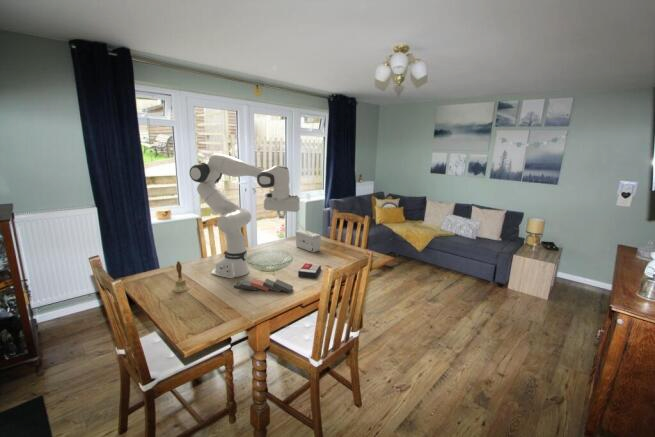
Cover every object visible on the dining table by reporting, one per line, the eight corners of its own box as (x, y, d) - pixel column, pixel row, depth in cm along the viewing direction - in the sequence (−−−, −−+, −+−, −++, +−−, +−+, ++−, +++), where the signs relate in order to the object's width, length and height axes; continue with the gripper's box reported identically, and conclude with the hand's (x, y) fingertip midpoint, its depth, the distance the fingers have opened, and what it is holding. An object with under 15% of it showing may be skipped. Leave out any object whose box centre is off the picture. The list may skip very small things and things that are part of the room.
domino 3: (268, 291, 168) (250, 285, 167) (269, 286, 173) (252, 281, 171) (269, 288, 168) (251, 282, 166) (270, 283, 172) (253, 278, 171)
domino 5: (289, 293, 166) (272, 285, 167) (292, 289, 171) (275, 281, 172) (290, 290, 166) (274, 282, 167) (293, 286, 171) (277, 278, 171)
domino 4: (279, 292, 167) (262, 285, 168) (282, 288, 172) (265, 281, 172) (280, 289, 167) (263, 282, 167) (283, 285, 172) (266, 278, 172)
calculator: (321, 264, 199) (315, 272, 185) (320, 270, 200) (315, 278, 186) (304, 262, 202) (298, 270, 187) (304, 268, 202) (298, 277, 188)
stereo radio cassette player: (320, 251, 234) (321, 225, 230) (313, 253, 228) (313, 227, 224) (302, 244, 248) (302, 220, 243) (294, 246, 242) (294, 222, 237)
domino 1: (250, 290, 170) (234, 288, 172) (254, 286, 175) (238, 285, 176) (250, 287, 169) (233, 285, 171) (254, 283, 174) (237, 281, 176)
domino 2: (257, 290, 168) (239, 286, 166) (258, 286, 173) (240, 282, 171) (258, 287, 168) (240, 283, 166) (259, 283, 173) (241, 279, 171)
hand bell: (181, 293, 163) (178, 265, 159) (169, 290, 166) (166, 263, 162) (193, 287, 171) (190, 260, 167) (181, 284, 174) (178, 257, 170)
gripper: (301, 194, 174) (300, 218, 177) (266, 192, 177) (267, 216, 181) (297, 196, 168) (297, 220, 171) (262, 194, 171) (263, 218, 175)
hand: (281, 218), depth 176 cm, fingers closed
